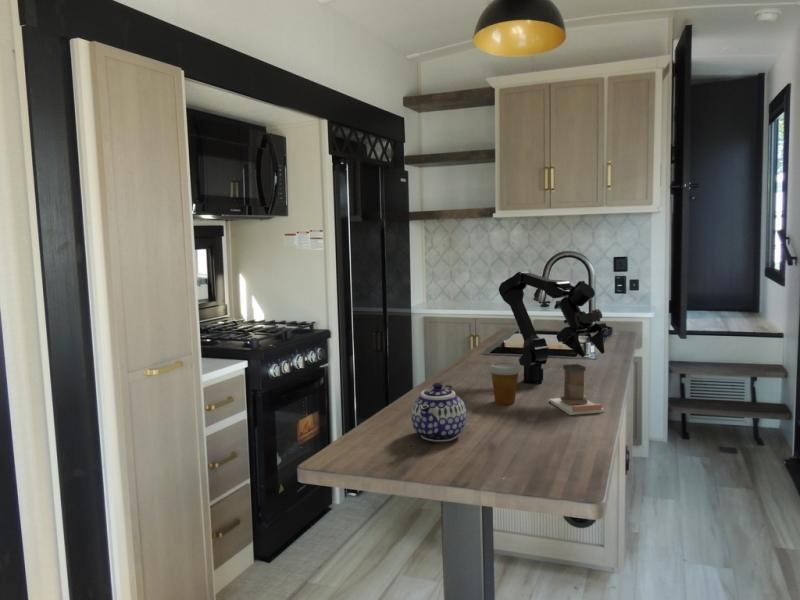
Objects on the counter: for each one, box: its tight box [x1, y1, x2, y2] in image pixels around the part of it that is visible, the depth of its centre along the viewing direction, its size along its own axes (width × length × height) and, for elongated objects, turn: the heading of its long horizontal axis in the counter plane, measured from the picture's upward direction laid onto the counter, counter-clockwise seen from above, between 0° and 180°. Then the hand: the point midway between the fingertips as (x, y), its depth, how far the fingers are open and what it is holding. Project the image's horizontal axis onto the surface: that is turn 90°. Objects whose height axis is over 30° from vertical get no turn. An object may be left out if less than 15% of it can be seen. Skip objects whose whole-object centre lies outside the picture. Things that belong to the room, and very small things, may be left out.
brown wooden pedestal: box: [560, 363, 588, 405], centre depth 209 cm, size 6×6×11 cm
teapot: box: [410, 382, 467, 442], centre depth 181 cm, size 25×15×15 cm, turn 155°
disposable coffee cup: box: [489, 362, 521, 405], centre depth 215 cm, size 10×10×12 cm
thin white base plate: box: [549, 397, 605, 416], centre depth 208 cm, size 15×11×2 cm
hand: (593, 354), depth 217 cm, fingers open, 9 cm apart
